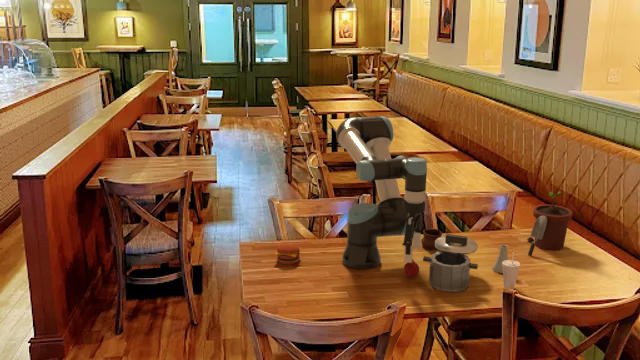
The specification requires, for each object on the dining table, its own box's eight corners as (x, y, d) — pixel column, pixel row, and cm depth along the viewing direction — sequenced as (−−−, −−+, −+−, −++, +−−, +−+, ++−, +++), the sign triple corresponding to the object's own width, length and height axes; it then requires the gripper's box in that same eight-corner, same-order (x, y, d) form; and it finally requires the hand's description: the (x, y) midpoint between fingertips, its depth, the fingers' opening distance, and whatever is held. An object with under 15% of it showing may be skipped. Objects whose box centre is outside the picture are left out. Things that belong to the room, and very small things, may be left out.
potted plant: (578, 253, 258) (585, 196, 251) (529, 256, 255) (535, 198, 248) (556, 237, 275) (562, 183, 268) (509, 240, 272) (515, 185, 265)
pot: (418, 287, 227) (419, 262, 224) (426, 272, 240) (427, 248, 237) (472, 296, 220) (475, 270, 218) (478, 280, 233) (480, 255, 230)
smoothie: (508, 293, 223) (512, 256, 219) (496, 285, 229) (499, 250, 225) (521, 289, 226) (525, 253, 222) (509, 282, 231) (512, 247, 227)
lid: (430, 250, 234) (431, 240, 232) (439, 236, 248) (439, 226, 247) (474, 257, 228) (475, 246, 227) (480, 241, 242) (480, 231, 241)
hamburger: (296, 265, 245) (296, 250, 243) (273, 263, 248) (273, 248, 246) (303, 256, 254) (303, 241, 252) (280, 254, 256) (280, 239, 254)
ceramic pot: (425, 235, 277) (426, 220, 275) (461, 246, 266) (462, 231, 263) (402, 247, 264) (402, 232, 262) (437, 259, 253) (439, 244, 251)
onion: (414, 283, 230) (415, 263, 228) (400, 279, 233) (401, 260, 231) (421, 277, 235) (422, 258, 233) (407, 274, 238) (407, 254, 236)
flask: (512, 274, 238) (514, 250, 235) (492, 273, 239) (494, 248, 237) (510, 267, 245) (512, 243, 242) (491, 265, 246) (493, 241, 243)
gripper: (417, 212, 213) (414, 269, 218) (432, 192, 235) (429, 244, 241) (395, 209, 215) (393, 266, 221) (412, 190, 238) (410, 242, 243)
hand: (412, 255), depth 231 cm, fingers open, 13 cm apart
